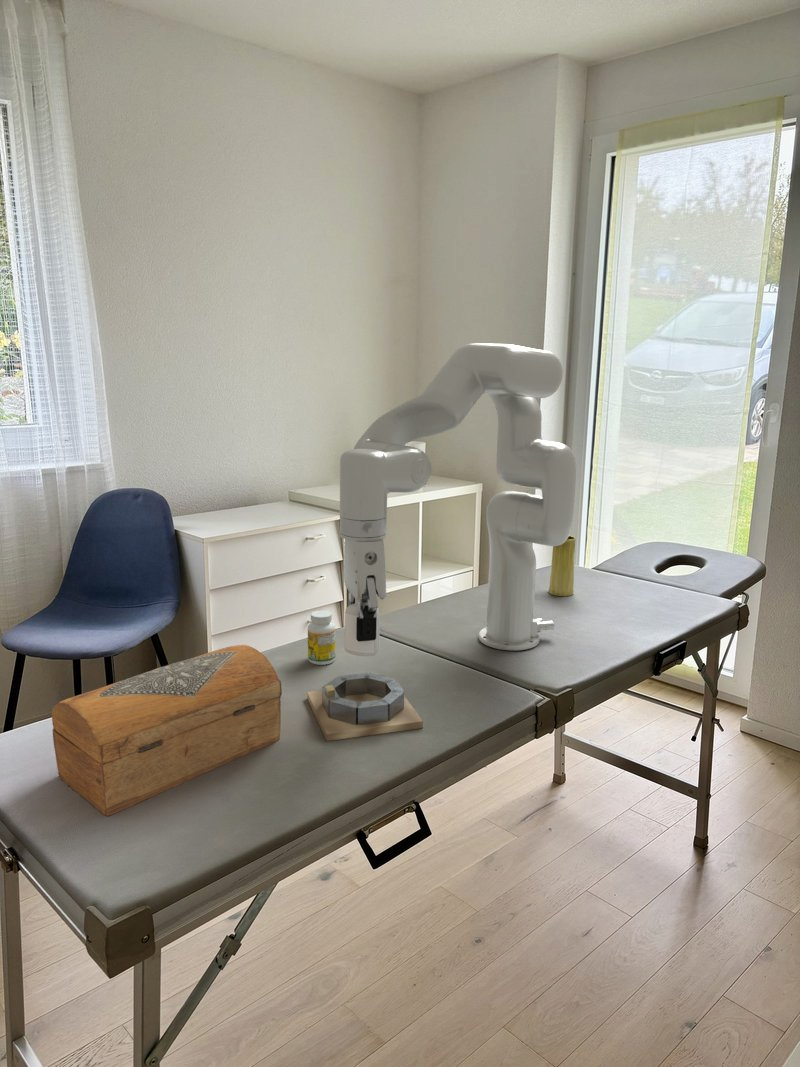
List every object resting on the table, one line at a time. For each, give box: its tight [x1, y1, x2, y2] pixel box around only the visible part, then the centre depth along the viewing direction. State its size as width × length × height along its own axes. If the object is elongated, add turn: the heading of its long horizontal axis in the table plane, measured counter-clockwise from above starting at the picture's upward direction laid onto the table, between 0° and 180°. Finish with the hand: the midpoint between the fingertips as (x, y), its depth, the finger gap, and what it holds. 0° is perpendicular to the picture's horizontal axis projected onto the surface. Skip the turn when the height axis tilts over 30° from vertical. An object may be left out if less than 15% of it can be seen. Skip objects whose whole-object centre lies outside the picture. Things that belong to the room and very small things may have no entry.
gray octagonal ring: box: [321, 672, 405, 725], centre depth 138 cm, size 13×13×4 cm
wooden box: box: [51, 644, 283, 817], centre depth 123 cm, size 30×16×14 cm, turn 136°
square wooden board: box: [306, 689, 424, 742], centre depth 139 cm, size 16×16×1 cm
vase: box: [548, 535, 576, 597], centre depth 202 cm, size 6×6×14 cm
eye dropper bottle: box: [344, 595, 381, 657], centre depth 135 cm, size 4×6×12 cm
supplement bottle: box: [307, 610, 337, 666], centre depth 159 cm, size 5×5×10 cm
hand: (362, 633), depth 135 cm, fingers closed on eye dropper bottle, 4 cm apart
